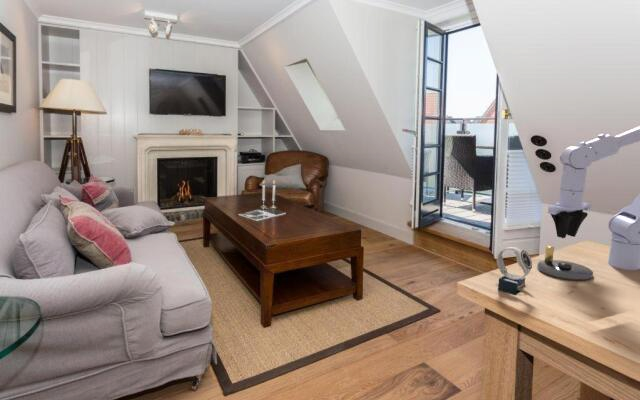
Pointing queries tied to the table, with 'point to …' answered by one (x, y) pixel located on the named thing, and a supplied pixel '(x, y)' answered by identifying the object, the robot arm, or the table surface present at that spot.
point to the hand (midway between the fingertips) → (566, 236)
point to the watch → (511, 281)
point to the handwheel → (563, 268)
